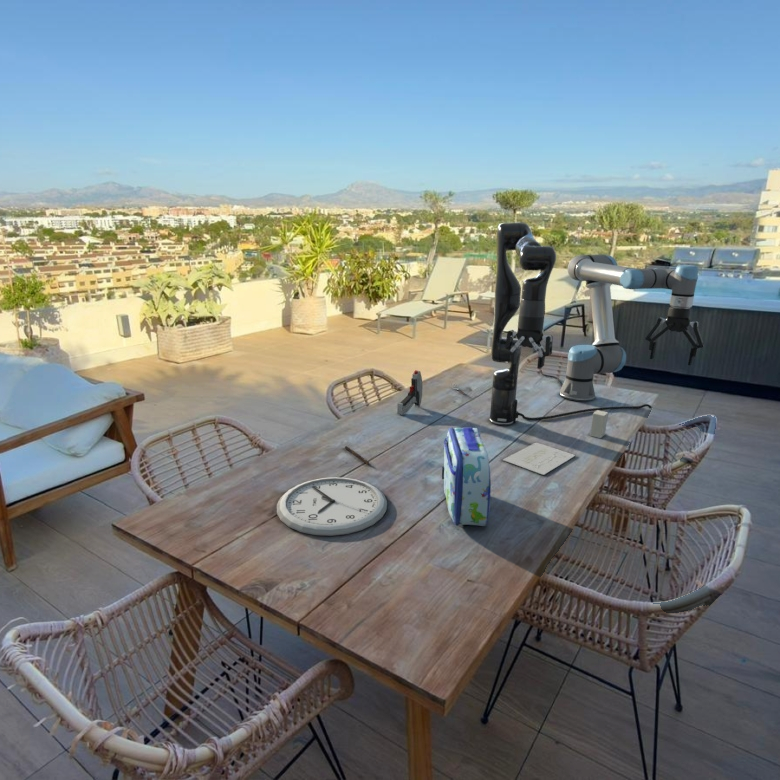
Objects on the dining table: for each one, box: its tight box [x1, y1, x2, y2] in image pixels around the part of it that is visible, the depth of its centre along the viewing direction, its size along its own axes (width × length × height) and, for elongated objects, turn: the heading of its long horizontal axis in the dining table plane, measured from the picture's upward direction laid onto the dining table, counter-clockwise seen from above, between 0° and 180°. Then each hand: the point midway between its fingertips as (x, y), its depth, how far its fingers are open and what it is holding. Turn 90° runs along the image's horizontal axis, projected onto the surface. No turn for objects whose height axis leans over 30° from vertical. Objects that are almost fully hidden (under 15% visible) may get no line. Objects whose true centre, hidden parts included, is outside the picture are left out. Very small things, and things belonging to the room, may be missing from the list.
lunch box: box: [441, 426, 492, 527], centre depth 140 cm, size 26×11×21 cm, turn 179°
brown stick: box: [344, 445, 370, 465], centre depth 173 cm, size 15×1×1 cm, turn 34°
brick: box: [589, 410, 609, 439], centre depth 194 cm, size 4×5×9 cm
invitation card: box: [502, 442, 577, 476], centre depth 174 cm, size 21×1×15 cm
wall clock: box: [276, 476, 388, 537], centre depth 142 cm, size 30×2×30 cm
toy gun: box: [396, 369, 423, 416], centre depth 215 cm, size 2×16×15 cm
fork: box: [450, 382, 467, 397], centre depth 243 cm, size 3×16×2 cm, turn 15°
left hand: (526, 365), depth 163 cm, fingers open, 8 cm apart
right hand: (670, 361), depth 204 cm, fingers open, 13 cm apart
